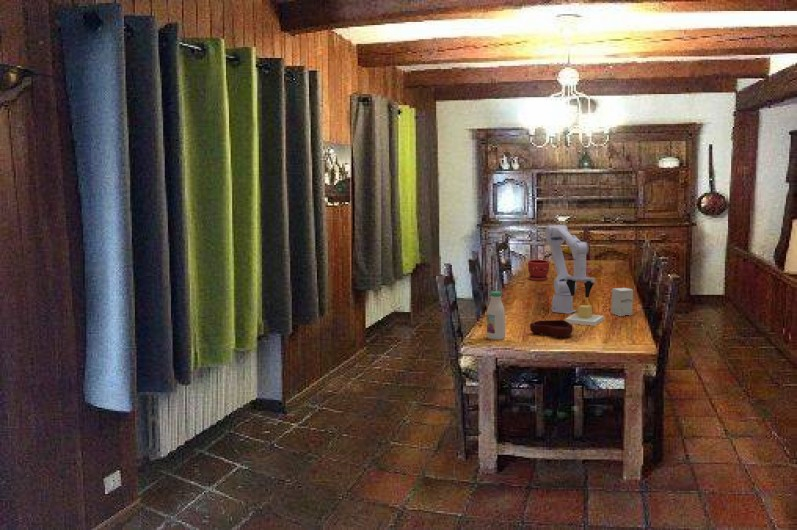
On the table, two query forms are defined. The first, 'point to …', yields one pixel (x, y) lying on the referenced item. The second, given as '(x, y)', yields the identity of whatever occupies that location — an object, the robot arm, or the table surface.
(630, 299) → the supplement box
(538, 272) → the plant pot
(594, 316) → the base
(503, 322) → the milk bottle
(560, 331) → the ashtray
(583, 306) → the block
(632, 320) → the table surface
